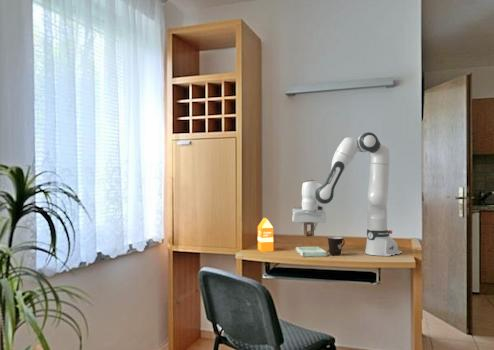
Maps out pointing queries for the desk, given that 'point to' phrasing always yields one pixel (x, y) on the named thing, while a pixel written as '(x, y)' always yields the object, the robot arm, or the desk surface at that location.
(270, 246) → the orange juice
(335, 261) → the desk surface
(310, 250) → the tray
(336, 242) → the coffee mug
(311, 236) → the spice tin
